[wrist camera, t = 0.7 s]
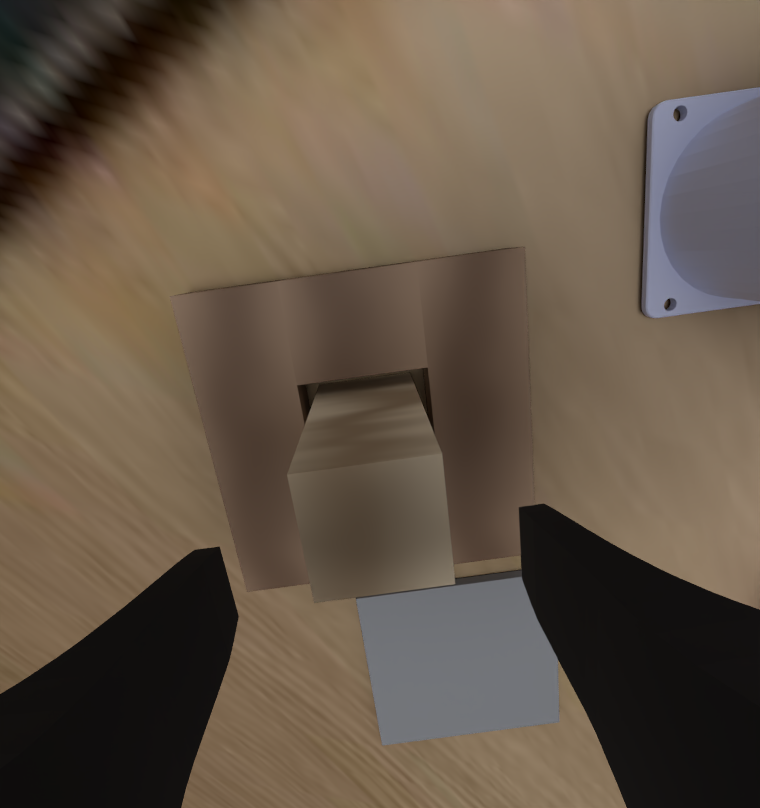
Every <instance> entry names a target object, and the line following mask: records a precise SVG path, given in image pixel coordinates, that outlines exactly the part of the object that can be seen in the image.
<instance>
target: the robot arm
mask: <svg viewBox="0 0 760 808" xmlns="http://www.w3.org/2000/svg"><path fill="white" fill-rule="evenodd" d="M675 109H678V110H679V111H680V115H681V116H680V119H679V121H676V120H675V119H674V117H673V113H674V110H675ZM667 299H670V301H671V304H670V306H669V308H668V309H665V308H664V303H665V301H666V300H667ZM756 304H760V87H757V88H750V89H743V90H736V91H729V92H722V93H715V94H708V95H701V96H694V97H687V98H679V99H672V100H666V101H663V102H661V103H659V104H657V105H656V106H655V107H653V108H652V110H651V111H650V113H649V117H648V130H647V160H646V190H645V219H644V249H643V279H642V312H643V313H644V315H646V316H648V317H651V318H661V317H669V316H676V315H683V314H690V313H698V312H705V311H712V310H719V309H727V308H734V307H741V306H748V305H756ZM519 526H520V547H521V568H522V580H523V583H524V586H525V589H526V591H527V594H528V597H529V600H530V602H531V605H532V607H533V610H534V612H535V615H536V618H537V620H538V622H539V624H540V626H541V628H542V630H543V631H544V633H545V635H546V637H547V639H548V641H549V643H550V645H551V647H552V649H553V651H554V653H555V654H556V656H557V658H558V660H559V662H560V664H561V666H562V668H563V670H564V671H565V673H566V675H567V677H568V679H569V681H570V683H571V685H572V687H573V688H574V690H575V692H576V694H577V696H578V698H579V700H580V702H581V704H582V706H583V707H584V709H585V711H586V713H587V715H588V717H589V720H590V722H591V724H592V726H593V728H594V730H595V732H596V734H597V737H598V739H599V741H600V744H601V746H602V748H603V751H604V753H605V756H606V758H607V760H608V763H609V765H610V768H611V770H612V772H613V775H614V777H615V780H616V782H617V784H618V787H619V789H620V792H621V794H622V797H623V799H624V802H625V804H626V807H627V808H760V610H759V609H756V608H753V607H751V606H748V605H745V604H742V603H739V602H736V601H734V600H731V599H728V598H726V597H723V596H721V595H718V594H716V593H713V592H711V591H708V590H706V589H703V588H701V587H699V586H696V585H694V584H692V583H690V582H687V581H685V580H683V579H680V578H678V577H676V576H673V575H671V574H669V573H667V572H665V571H663V570H661V569H659V568H657V567H655V566H653V565H651V564H649V563H647V562H645V561H643V560H641V559H639V558H637V557H635V556H633V555H631V554H629V553H628V552H626V551H624V550H622V549H620V548H618V547H617V546H615V545H613V544H611V543H610V542H608V541H606V540H604V539H603V538H601V537H599V536H598V535H596V534H594V533H592V532H591V531H589V530H587V529H586V528H584V527H583V526H581V525H579V524H578V523H576V522H574V521H573V520H571V519H569V518H568V517H566V516H565V515H563V514H561V513H560V512H558V511H556V510H555V509H553V508H551V507H549V506H547V505H546V504H538V505H531V506H523V507H519ZM238 617H239V616H238V612H237V609H236V605H235V601H234V598H233V594H232V590H231V587H230V583H229V579H228V576H227V572H226V568H225V565H224V561H223V557H222V554H221V550H220V547H214V548H206V549H199V550H194V551H193V552H191V553H190V554H188V555H187V556H186V557H184V558H183V559H182V560H180V561H179V562H178V563H177V564H175V565H174V566H173V567H172V568H171V569H169V570H168V571H167V572H166V573H165V574H163V575H162V576H161V577H160V578H159V579H157V580H156V581H155V582H154V583H153V584H151V585H150V586H149V587H148V588H147V589H145V590H144V591H143V592H142V593H141V594H139V595H138V596H137V597H136V598H135V599H133V600H132V601H131V602H130V603H128V604H127V605H126V606H125V607H124V608H122V609H121V610H120V611H118V612H117V613H116V614H115V615H113V616H112V617H111V618H109V619H108V620H107V621H106V622H104V623H103V624H102V625H100V626H99V627H98V628H97V629H95V630H94V631H93V632H91V633H90V634H89V635H88V636H86V637H85V638H84V639H82V640H81V641H80V642H78V643H77V644H75V645H74V646H73V647H71V648H70V649H69V650H67V651H66V652H64V653H63V654H61V655H60V656H59V657H57V658H56V659H54V660H53V661H51V662H50V663H48V664H47V665H45V666H44V667H42V668H41V669H39V670H38V671H36V672H35V673H33V674H32V675H30V676H29V677H27V678H26V679H24V680H23V681H21V682H20V683H18V684H16V685H15V686H13V687H11V688H10V689H8V690H6V691H5V692H3V693H1V694H0V808H181V806H182V802H183V798H184V794H185V790H186V786H187V783H188V780H189V776H190V773H191V770H192V767H193V763H194V760H195V757H196V755H197V752H198V749H199V746H200V743H201V740H202V737H203V735H204V732H205V729H206V726H207V723H208V720H209V718H210V715H211V712H212V709H213V706H214V703H215V700H216V698H217V695H218V692H219V689H220V686H221V683H222V680H223V677H224V674H225V671H226V668H227V665H228V662H229V659H230V655H231V651H232V646H233V642H234V637H235V632H236V627H237V622H238Z"/></svg>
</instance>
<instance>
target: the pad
mask: <svg viewBox="0 0 760 808" xmlns="http://www.w3.org/2000/svg"><path fill="white" fill-rule="evenodd" d="M356 601H357V607H358V613H359V618H360V624H361V629H362V635H363V641H364V646H365V652H366V657H367V663H368V668H369V674H370V680H371V685H372V691H373V696H374V702H375V707H376V713H377V719H378V724H379V730H380V735H381V741H382V745H389V744H396V743H404V742H412V741H419V740H427V739H435V738H442V737H450V736H457V735H465V734H473V733H480V732H488V731H496V730H503V729H511V728H518V727H526V726H534V725H541V724H549V723H557V722H559V689H558V658H557V656H556V654H555V653H554V651H553V649H552V647H551V645H550V643H549V641H548V639H547V637H546V635H545V633H544V631H543V630H542V628H541V626H540V624H539V622H538V620H537V618H536V615H535V612H534V610H533V607H532V605H531V602H530V600H529V597H528V594H527V591H526V589H525V586H524V583H523V580H522V570H518V571H511V572H503V573H496V574H488V575H481V576H473V577H466V578H458V579H455V584H453V585H445V586H438V587H430V588H423V589H415V590H408V591H400V592H393V593H385V594H378V595H370V596H363V597H356Z"/></svg>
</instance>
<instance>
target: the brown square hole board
mask: <svg viewBox="0 0 760 808" xmlns="http://www.w3.org/2000/svg"><path fill="white" fill-rule="evenodd" d="M170 300H171V303H172V307H173V311H174V315H175V319H176V322H177V326H178V330H179V334H180V338H181V342H182V345H183V349H184V353H185V357H186V361H187V364H188V368H189V372H190V376H191V380H192V383H193V387H194V391H195V395H196V399H197V403H198V406H199V410H200V414H201V418H202V422H203V425H204V429H205V433H206V437H207V441H208V445H209V448H210V452H211V456H212V460H213V464H214V467H215V471H216V475H217V479H218V483H219V486H220V490H221V494H222V498H223V502H224V506H225V509H226V513H227V517H228V521H229V525H230V528H231V532H232V536H233V540H234V544H235V548H236V551H237V555H238V559H239V563H240V567H241V570H242V574H243V578H244V582H245V586H246V589H247V592H250V591H258V590H265V589H272V588H280V587H287V586H295V585H302V584H310V581H309V576H308V572H307V567H306V562H305V557H304V553H303V548H302V543H301V539H300V534H299V529H298V524H297V520H296V515H295V510H294V506H293V501H292V496H291V491H290V487H289V482H288V477H287V473H288V470H289V468H290V465H291V462H292V459H293V457H294V454H295V451H296V448H297V445H298V443H299V440H300V437H301V434H302V431H303V429H304V426H305V423H306V420H307V418H308V415H309V412H310V407H309V402H308V396H307V391H306V386H305V384H311V383H318V382H325V381H333V380H340V379H347V378H354V377H362V376H369V375H376V374H383V373H391V372H398V371H405V370H412V369H420V368H423V372H424V382H425V391H426V400H427V409H428V419H429V422H430V424H431V427H432V429H433V432H434V434H435V437H436V439H437V442H438V444H439V447H440V449H441V452H442V457H443V467H444V477H445V486H446V496H447V506H448V516H449V526H450V536H451V546H452V555H453V564H459V563H466V562H474V561H481V560H489V559H496V558H503V557H511V556H518V555H521V547H520V526H519V507H523V506H531V505H535V497H534V471H533V445H532V419H531V393H530V367H529V341H528V315H527V289H526V263H525V247H516V248H505V249H498V250H491V251H484V252H477V253H470V254H463V255H455V256H448V257H441V258H434V259H427V260H420V261H412V262H405V263H398V264H391V265H384V266H377V267H369V268H362V269H355V270H348V271H341V272H334V273H326V274H319V275H312V276H305V277H298V278H291V279H284V280H276V281H269V282H262V283H255V284H248V285H241V286H233V287H226V288H219V289H212V290H205V291H198V292H190V293H185V294H180V295H174V296H170Z"/></svg>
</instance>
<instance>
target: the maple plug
mask: <svg viewBox="0 0 760 808" xmlns="http://www.w3.org/2000/svg"><path fill="white" fill-rule="evenodd" d="M287 477H288V482H289V487H290V491H291V496H292V501H293V506H294V510H295V515H296V520H297V524H298V529H299V534H300V539H301V543H302V548H303V553H304V557H305V562H306V567H307V572H308V576H309V581H310V586H311V590H312V595H313V600H314V603H318V602H325V601H333V600H340V599H348V598H355V597H363V596H370V595H378V594H385V593H393V592H400V591H408V590H415V589H423V588H430V587H438V586H445V585H453V584H455V575H454V565H453V555H452V546H451V536H450V526H449V516H448V506H447V496H446V486H445V477H444V467H443V457H442V452H441V449H440V447H439V444H438V442H437V439H436V437H435V434H434V432H433V429H432V427H431V424H430V422H429V419H428V417H427V414H426V412H425V409H424V407H423V404H422V402H421V399H420V397H419V394H418V392H417V389H416V387H415V384H414V382H413V379H412V377H411V374H410V372H408V373H400V374H393V375H386V376H379V377H371V378H364V379H357V380H349V381H342V382H335V383H328V384H320V385H319V387H318V390H317V393H316V395H315V398H314V401H313V404H312V406H311V409H310V412H309V415H308V418H307V420H306V423H305V426H304V429H303V431H302V434H301V437H300V440H299V443H298V445H297V448H296V451H295V454H294V457H293V459H292V462H291V465H290V468H289V470H288V473H287Z"/></svg>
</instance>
